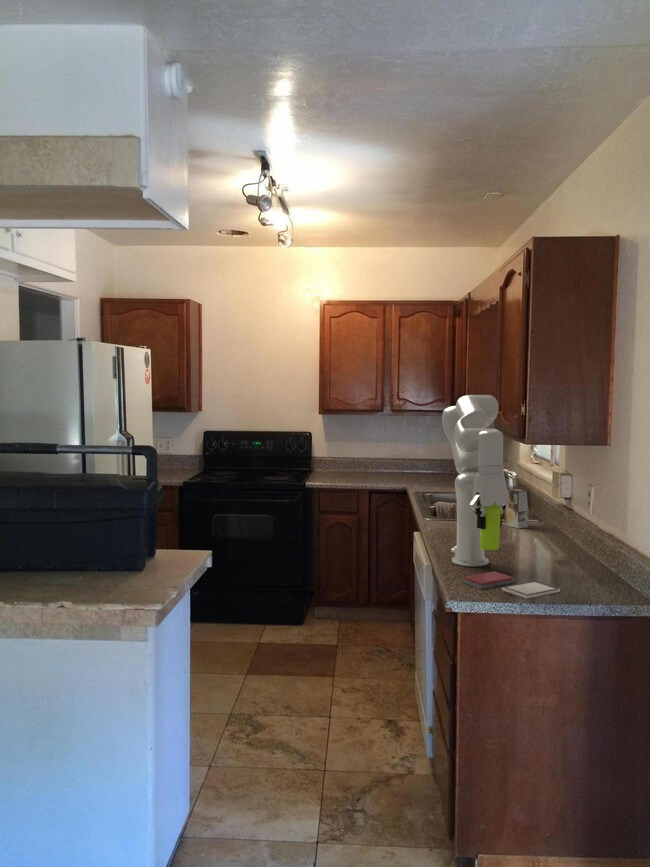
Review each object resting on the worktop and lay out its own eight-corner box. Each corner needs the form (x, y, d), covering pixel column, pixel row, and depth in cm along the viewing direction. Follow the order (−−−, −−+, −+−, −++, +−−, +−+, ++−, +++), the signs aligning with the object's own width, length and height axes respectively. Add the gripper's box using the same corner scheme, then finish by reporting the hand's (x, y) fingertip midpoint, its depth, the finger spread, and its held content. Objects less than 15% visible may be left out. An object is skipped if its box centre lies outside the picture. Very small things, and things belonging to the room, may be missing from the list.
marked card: (501, 589, 213) (501, 586, 213) (534, 583, 220) (534, 580, 220) (526, 598, 204) (526, 595, 204) (560, 591, 211) (560, 588, 211)
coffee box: (529, 527, 307) (529, 490, 306) (518, 528, 304) (518, 492, 303) (514, 523, 315) (515, 488, 314) (503, 525, 312) (504, 489, 311)
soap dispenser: (496, 545, 223) (499, 483, 222) (500, 550, 216) (503, 486, 215) (477, 545, 224) (480, 482, 222) (481, 549, 217) (484, 485, 215)
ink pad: (461, 582, 221) (461, 576, 221) (494, 576, 228) (494, 570, 228) (481, 589, 213) (481, 583, 213) (515, 583, 220) (515, 577, 220)
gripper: (502, 467, 226) (501, 523, 227) (460, 470, 217) (460, 528, 218) (519, 469, 219) (518, 527, 221) (477, 473, 211) (476, 532, 212)
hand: (489, 527), depth 220 cm, fingers closed on soap dispenser, 6 cm apart
